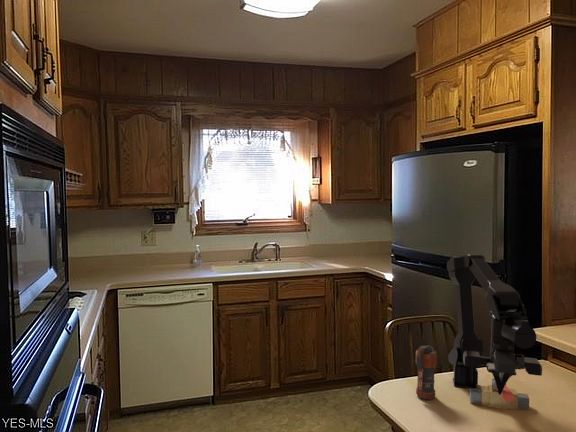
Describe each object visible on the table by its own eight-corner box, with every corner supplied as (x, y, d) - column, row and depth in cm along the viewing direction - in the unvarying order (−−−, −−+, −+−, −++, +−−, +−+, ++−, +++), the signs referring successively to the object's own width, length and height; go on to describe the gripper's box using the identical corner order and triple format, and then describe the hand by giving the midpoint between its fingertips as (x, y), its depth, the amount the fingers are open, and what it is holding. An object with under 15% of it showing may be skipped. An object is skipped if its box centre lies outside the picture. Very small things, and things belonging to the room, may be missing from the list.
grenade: (408, 398, 139) (409, 347, 138) (421, 390, 144) (422, 341, 144) (427, 404, 135) (428, 351, 134) (440, 396, 140) (440, 345, 140)
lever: (490, 385, 137) (490, 377, 137) (503, 386, 136) (503, 378, 136) (502, 401, 126) (502, 393, 126) (516, 402, 126) (517, 393, 126)
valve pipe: (470, 404, 135) (471, 389, 134) (469, 397, 140) (469, 382, 139) (529, 411, 131) (530, 395, 130) (526, 403, 136) (526, 388, 135)
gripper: (467, 341, 123) (464, 401, 123) (548, 350, 118) (545, 412, 118) (464, 329, 133) (461, 385, 134) (538, 337, 128) (535, 394, 129)
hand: (499, 394), depth 129 cm, fingers closed
